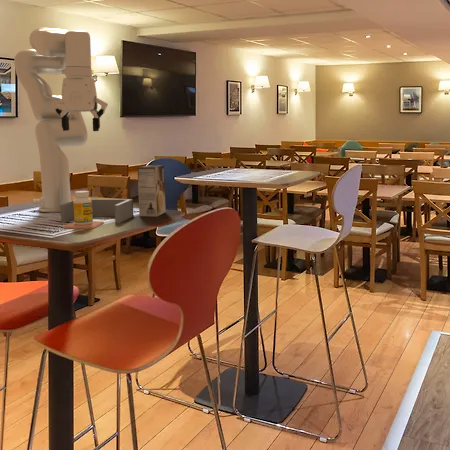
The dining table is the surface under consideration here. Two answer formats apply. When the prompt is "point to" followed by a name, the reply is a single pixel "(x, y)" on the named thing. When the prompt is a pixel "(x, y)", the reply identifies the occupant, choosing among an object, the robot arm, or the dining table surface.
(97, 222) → the tile
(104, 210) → the open box
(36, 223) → the dining table surface
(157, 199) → the coffee box
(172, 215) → the dining table surface
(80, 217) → the supplement bottle
